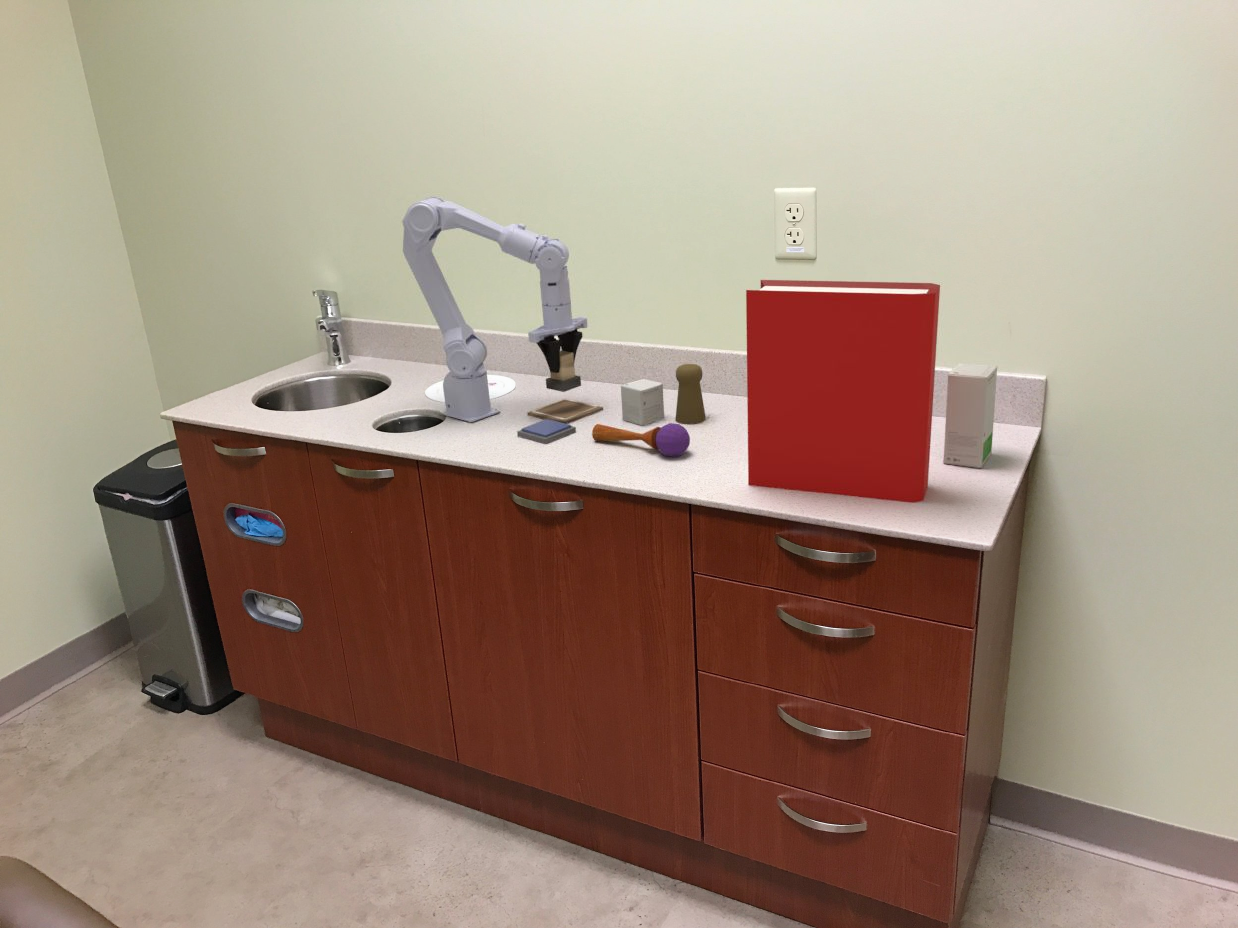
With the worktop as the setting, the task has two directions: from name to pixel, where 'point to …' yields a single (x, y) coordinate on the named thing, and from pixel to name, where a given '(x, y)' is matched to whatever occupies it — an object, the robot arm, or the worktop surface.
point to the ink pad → (546, 431)
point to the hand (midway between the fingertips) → (561, 369)
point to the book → (841, 386)
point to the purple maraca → (649, 437)
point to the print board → (565, 411)
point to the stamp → (564, 374)
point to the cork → (689, 395)
